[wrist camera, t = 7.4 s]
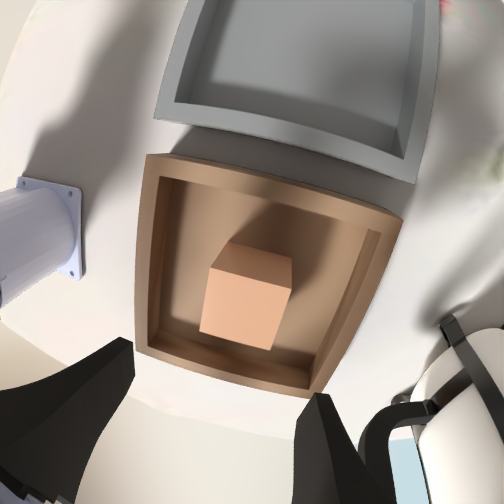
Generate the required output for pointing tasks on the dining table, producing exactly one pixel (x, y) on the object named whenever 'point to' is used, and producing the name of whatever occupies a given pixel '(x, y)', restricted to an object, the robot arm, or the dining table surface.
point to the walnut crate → (263, 238)
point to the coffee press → (450, 422)
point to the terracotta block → (246, 295)
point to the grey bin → (310, 75)
